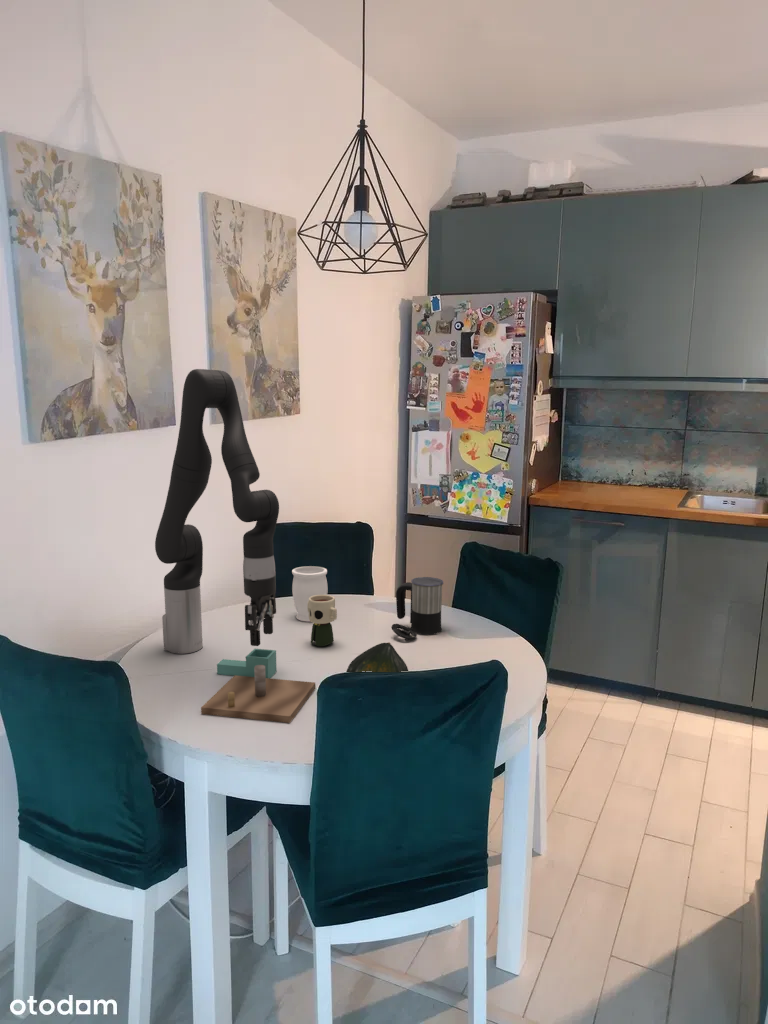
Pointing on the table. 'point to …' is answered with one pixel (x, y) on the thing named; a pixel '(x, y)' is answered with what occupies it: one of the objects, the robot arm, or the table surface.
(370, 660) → the squash
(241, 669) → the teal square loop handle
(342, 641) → the table surface
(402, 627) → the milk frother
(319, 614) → the character mug
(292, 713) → the base
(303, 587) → the jar
